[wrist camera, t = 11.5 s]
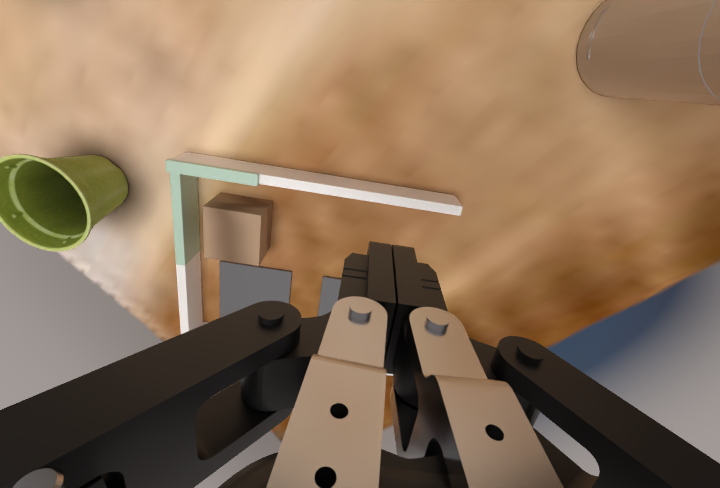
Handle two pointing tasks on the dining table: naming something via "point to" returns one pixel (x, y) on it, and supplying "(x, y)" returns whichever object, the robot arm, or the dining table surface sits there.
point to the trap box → (257, 282)
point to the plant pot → (57, 197)
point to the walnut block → (237, 228)
